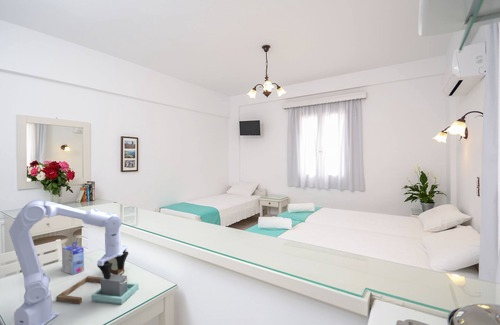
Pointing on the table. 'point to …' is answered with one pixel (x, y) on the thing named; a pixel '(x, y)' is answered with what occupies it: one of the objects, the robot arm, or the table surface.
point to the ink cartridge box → (73, 259)
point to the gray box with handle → (114, 285)
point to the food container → (115, 267)
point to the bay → (72, 299)
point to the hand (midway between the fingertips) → (114, 273)
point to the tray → (114, 299)
